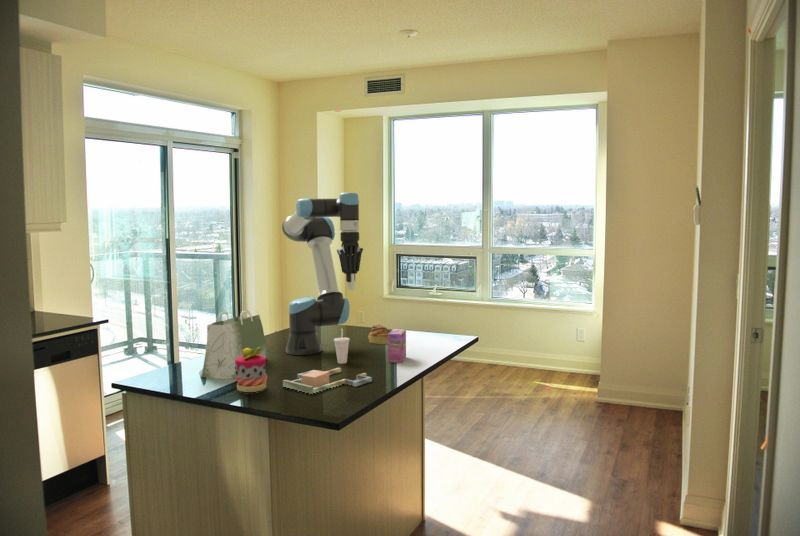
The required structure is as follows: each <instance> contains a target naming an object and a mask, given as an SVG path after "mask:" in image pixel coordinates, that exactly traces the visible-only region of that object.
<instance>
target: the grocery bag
mask: <svg viewBox="0 0 800 536" xmlns="http://www.w3.org/2000/svg"><path fill="white" fill-rule="evenodd" d="M244 313H247V314H248V315H249V316H248V317H246V316H245V317H244V316H243V314H244ZM222 315H226V316H227V319H225V320H221V321H220V318H221V316H222ZM263 326H264V325H263V323H262V319H261V317H260V314H256V315H252V314H251V311H250V310H248V309H244V310H241V312H240V313H239V316H237V315H236V316H234V317H231V318H229V313H228V312H227V311H221V312H219V314H218V316H217V321H214V322H212V323H210V324H207V327H206V328H207V331H206V333H207V335H206V347H205V355H204V361H203V367H202V373H201V378H202V377H209V378H208V379H224V378H234V379H235V378H236V376H237V375H236V369H235V366H236V364H235V360H236V359H237V358H238V357H241V356H244V355H243V350H244V349H245V348H250V349H253V350H254V351H255V350H256V349H257V348H258V347H260V348H261V350H260V353H259V354H257V355H262V356H264V357H265V358H267V357H268V356H267V343H266V338H265V333H264V328H263ZM267 359H268V358H267Z"/></svg>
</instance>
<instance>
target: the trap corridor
mask: <svg viewBox="0 0 800 536" xmlns="http://www.w3.org/2000/svg"><path fill="white" fill-rule="evenodd" d="M315 370H316V369H312V370H309V371H305V372H301V373H297V374H296V375H297V379H294V380H288V379H283V380H282V388H283V387H286V388H285V389H287V388H290V389H289V390H291V389H295V390H298V391H297V392H299V391H302V392H305V393H304V394H306V393H309V394H308V395H310V394H312V395H314V394H313V393H315V394H317V393H316V392H318V393H320V392H319V391H321V392H324V391H327V390H326V389H328V390H330V389H329V388H331V389H334V388H337V387H340V386H343V385H342V384H344V385H347V384H348V386H351V385H352V387H359V386H362V385H364V384H365V385H366V384H368V383H371V382H373V377H372V376H368V375H367V373H366V372H363V373H359V374H356V379H353V380H352V379H348V378H343V379H340V380H337V381H332V382H329V384H326V385H322V386H319V387H316V388H313V386H309V385H305V384H301V375H304V374H306V373H309V372H312V371H315ZM325 372H329V376H331V375H332V376H333V375H335V374H338V373H339V374H340V373H342V368H341V367H336V368H332V369H329V370H325ZM298 378H299V379H298ZM339 385H340V386H339ZM336 386H337V387H336ZM333 387H334V388H333ZM295 390H294V391H295ZM323 390H324V391H323ZM302 392H301V393H302Z"/></svg>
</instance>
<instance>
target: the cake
mask: <svg viewBox="0 0 800 536" xmlns="http://www.w3.org/2000/svg"><path fill="white" fill-rule="evenodd" d="M260 350H261V348H260V347H258V348H257V349H256V350H255V351H254V350H253V349H250V348H245V349H244V350H243V355H244V356H241V357H238V358H237V359H236V360H235V364H236V366H235V369H236V375H237V377H235V378H234V380H235V381H237V383H236V390H239V391H243V392H256V391H260V390H263V389H265V388H266V389H267V381H268V375H267V373H266V372H267V368H266V363H267V359H266V358H265V357H264V356H262V355H257V354H259V353H260ZM266 389H265V390H266ZM263 391H264V390H263ZM256 393H257V392H256Z"/></svg>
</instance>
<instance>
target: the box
mask: <svg viewBox="0 0 800 536" xmlns="http://www.w3.org/2000/svg"><path fill="white" fill-rule="evenodd" d="M406 357H407V329H403V328H393V329H391V332H390V333H389V334H388V344H387V362H388V363H394V364H395V363H396V364H401V363H402V362H403V361H404V359H406Z"/></svg>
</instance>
